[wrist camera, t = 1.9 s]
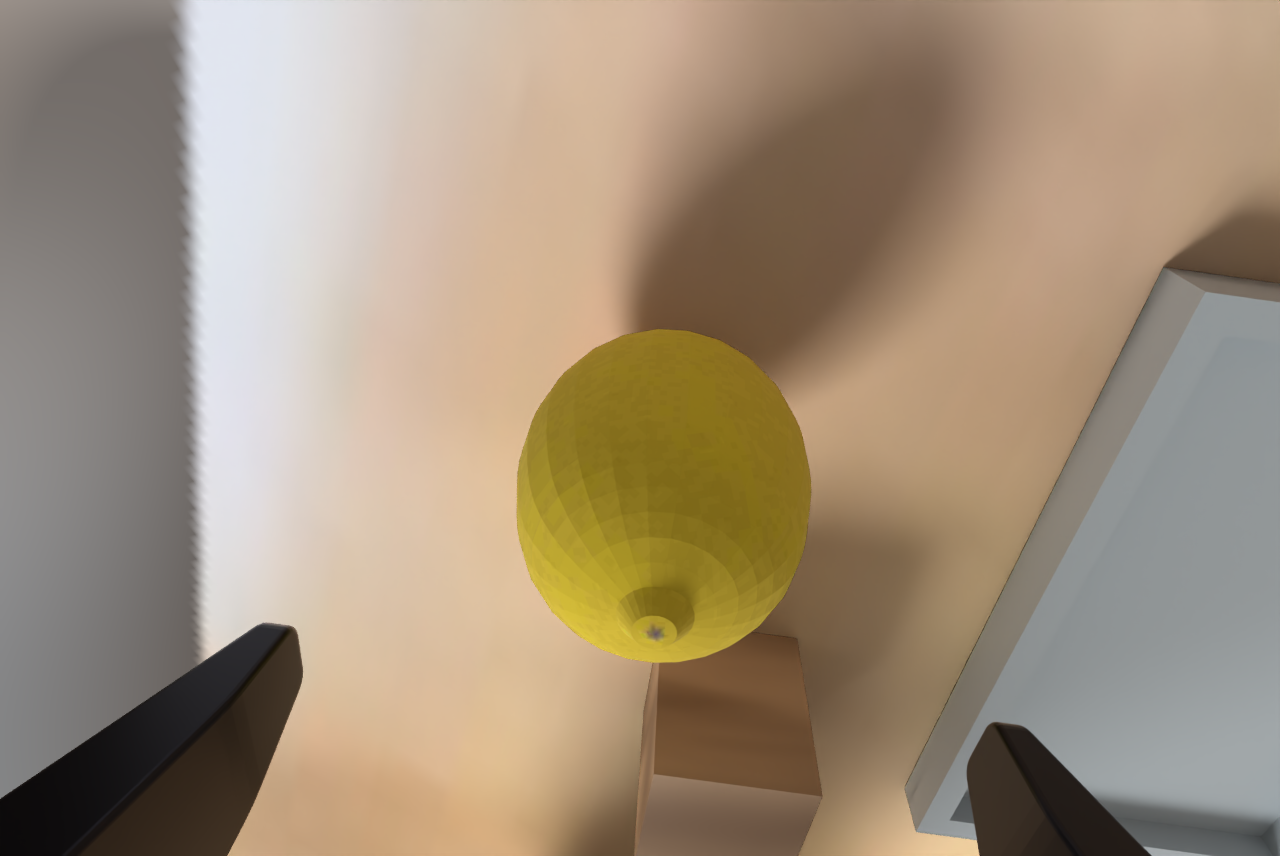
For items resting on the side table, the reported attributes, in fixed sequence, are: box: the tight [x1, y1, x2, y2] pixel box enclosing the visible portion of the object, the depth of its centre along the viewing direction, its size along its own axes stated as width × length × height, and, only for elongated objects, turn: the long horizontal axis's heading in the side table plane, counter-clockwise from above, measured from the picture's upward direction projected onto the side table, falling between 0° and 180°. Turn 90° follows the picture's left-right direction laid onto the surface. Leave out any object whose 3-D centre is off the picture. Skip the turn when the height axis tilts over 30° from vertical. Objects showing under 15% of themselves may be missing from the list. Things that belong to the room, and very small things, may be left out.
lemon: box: [517, 329, 811, 663], centre depth 14 cm, size 6×6×8 cm
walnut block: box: [634, 632, 822, 856], centre depth 21 cm, size 4×4×5 cm
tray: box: [905, 267, 1280, 856], centre depth 20 cm, size 18×12×2 cm, turn 173°
